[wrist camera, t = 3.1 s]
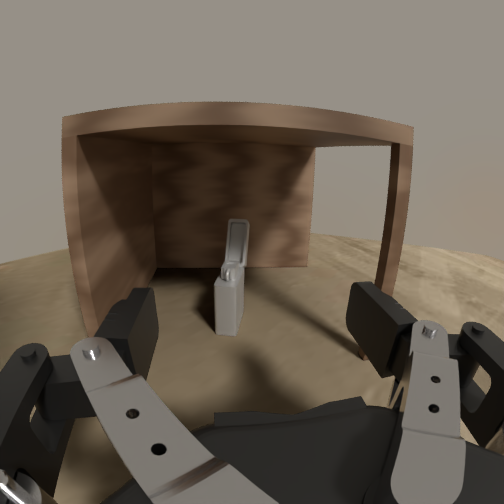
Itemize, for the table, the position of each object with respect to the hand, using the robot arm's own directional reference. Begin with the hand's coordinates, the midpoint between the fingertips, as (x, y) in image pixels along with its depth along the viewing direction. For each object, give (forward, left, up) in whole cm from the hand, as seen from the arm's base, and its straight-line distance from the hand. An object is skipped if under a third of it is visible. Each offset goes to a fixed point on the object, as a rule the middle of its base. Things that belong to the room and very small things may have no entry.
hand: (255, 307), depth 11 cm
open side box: (0, +15, -8) cm, 17 cm away
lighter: (0, +13, -8) cm, 15 cm away
